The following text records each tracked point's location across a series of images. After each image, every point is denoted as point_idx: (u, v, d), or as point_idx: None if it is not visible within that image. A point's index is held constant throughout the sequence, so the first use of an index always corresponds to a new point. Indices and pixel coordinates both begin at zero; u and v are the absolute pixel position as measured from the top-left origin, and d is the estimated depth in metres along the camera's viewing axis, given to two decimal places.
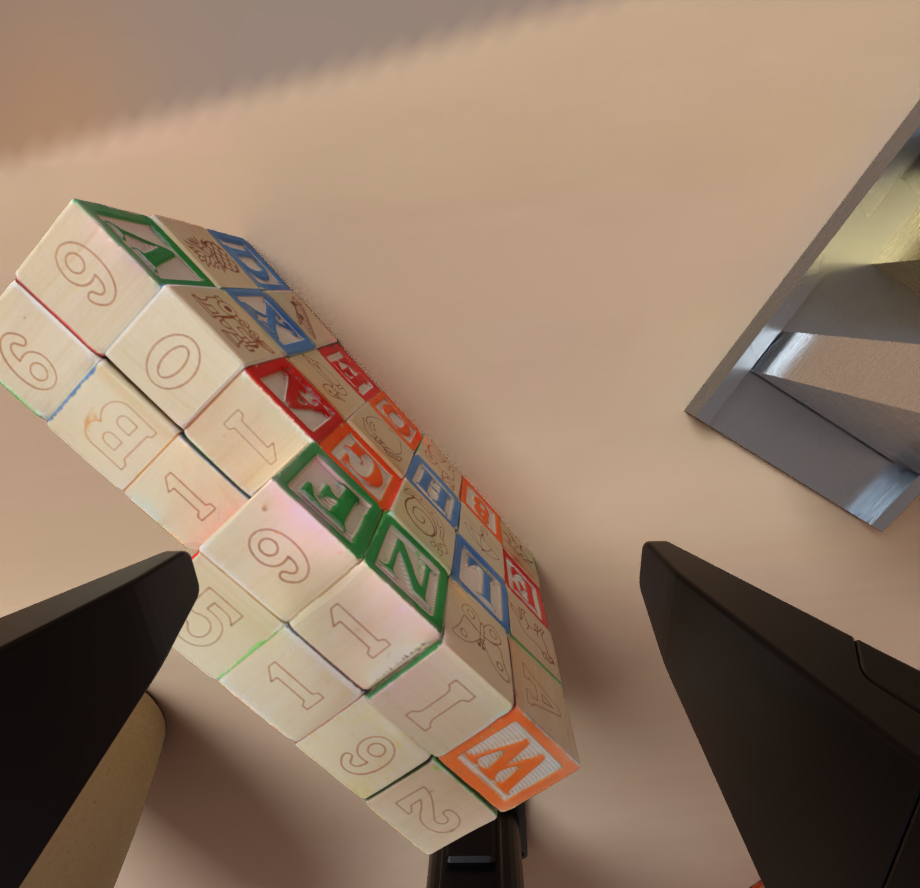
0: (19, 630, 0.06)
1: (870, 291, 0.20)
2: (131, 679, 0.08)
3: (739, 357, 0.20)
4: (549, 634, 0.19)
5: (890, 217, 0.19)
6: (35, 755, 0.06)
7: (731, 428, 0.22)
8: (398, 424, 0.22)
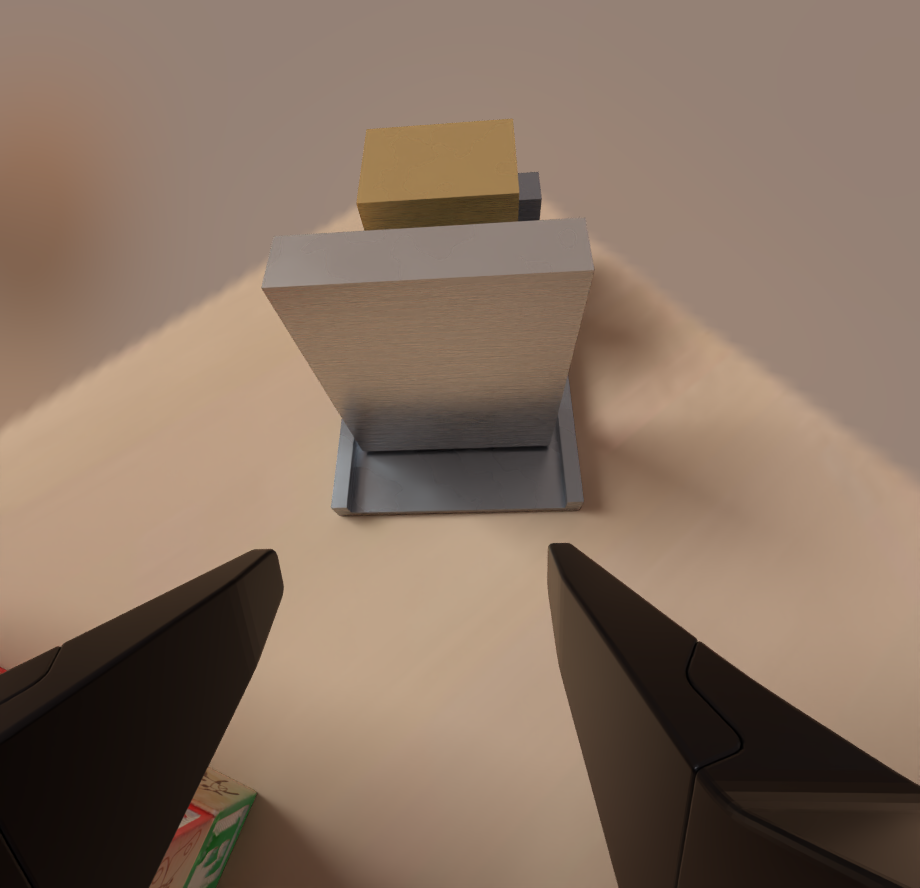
0: (143, 629, 0.06)
1: None
2: (234, 679, 0.08)
3: (339, 446, 0.22)
4: None
5: None
6: (161, 756, 0.06)
7: (384, 503, 0.21)
8: None
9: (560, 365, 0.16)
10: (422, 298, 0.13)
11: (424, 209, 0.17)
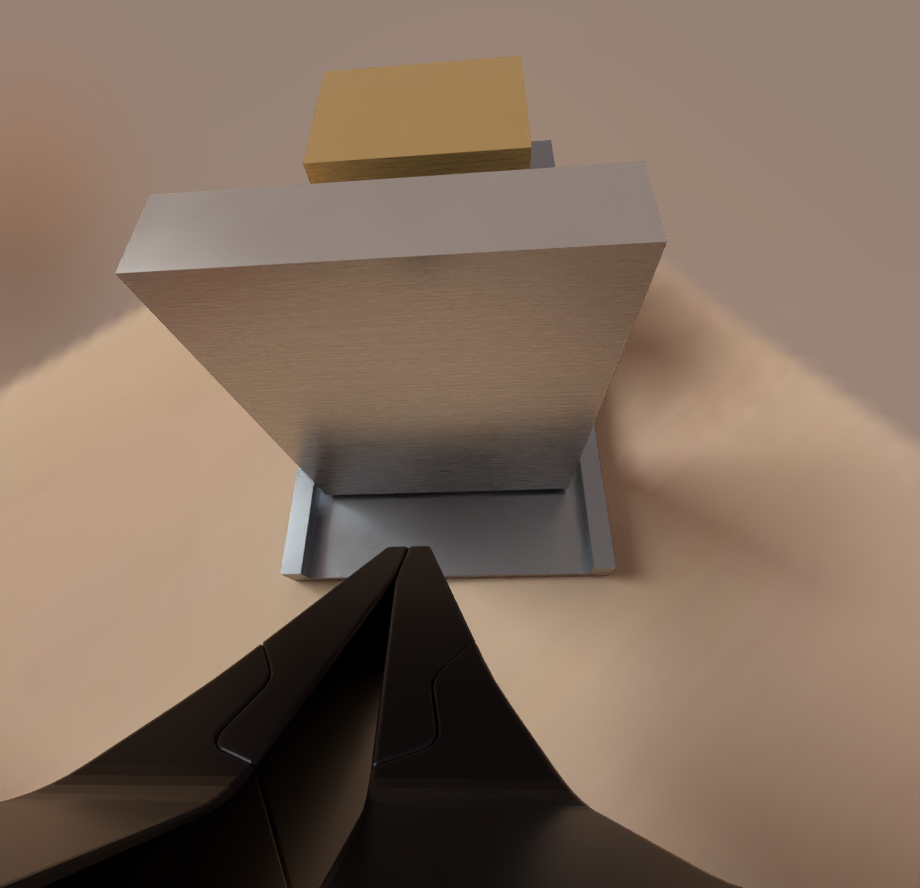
0: (337, 627, 0.06)
1: None
2: None
3: (295, 489, 0.17)
4: None
5: None
6: (358, 757, 0.06)
7: (352, 565, 0.16)
8: None
9: (592, 391, 0.11)
10: (382, 292, 0.08)
11: (399, 172, 0.12)
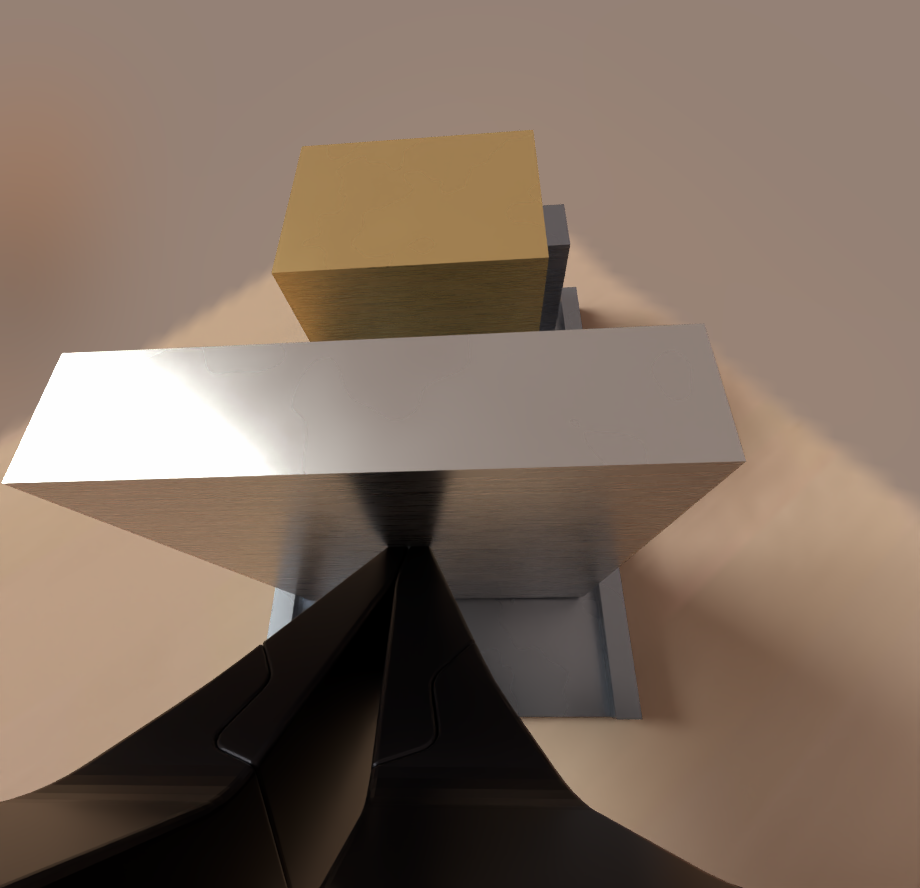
0: (337, 627, 0.06)
1: None
2: None
3: (273, 608, 0.15)
4: None
5: None
6: (357, 757, 0.06)
7: None
8: None
9: (622, 550, 0.09)
10: (358, 493, 0.06)
11: (388, 281, 0.10)
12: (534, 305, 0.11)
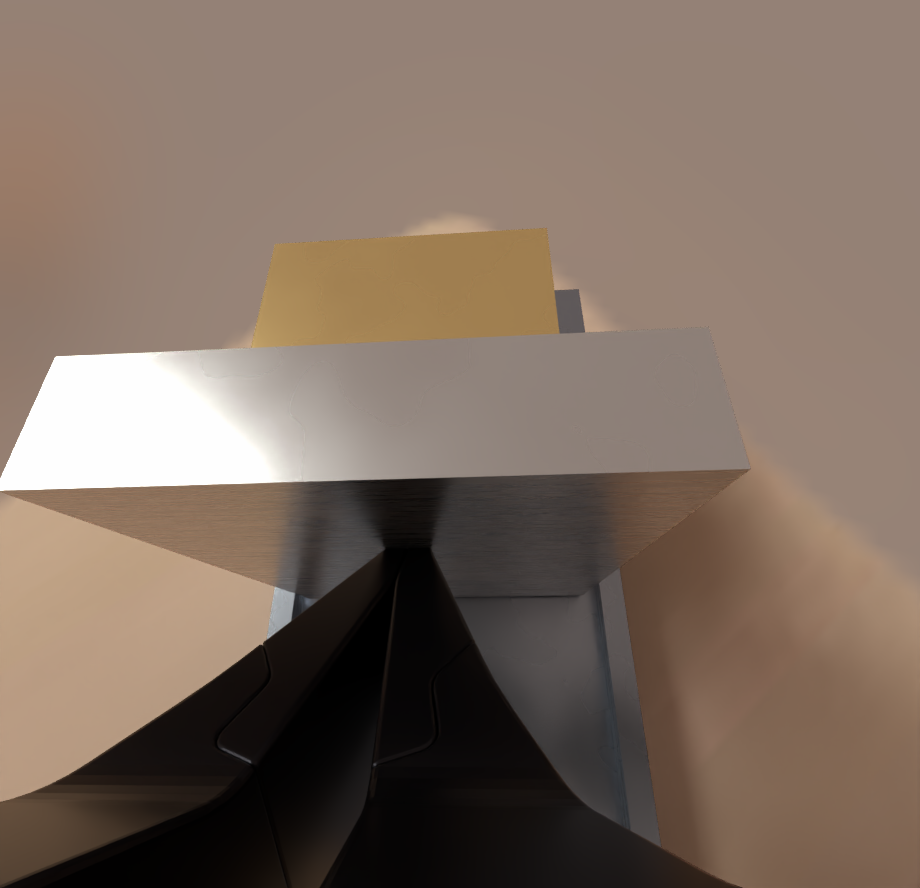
0: (337, 627, 0.06)
1: None
2: None
3: None
4: None
5: None
6: (358, 757, 0.06)
7: None
8: None
9: (623, 551, 0.09)
10: (358, 500, 0.06)
11: None
12: None
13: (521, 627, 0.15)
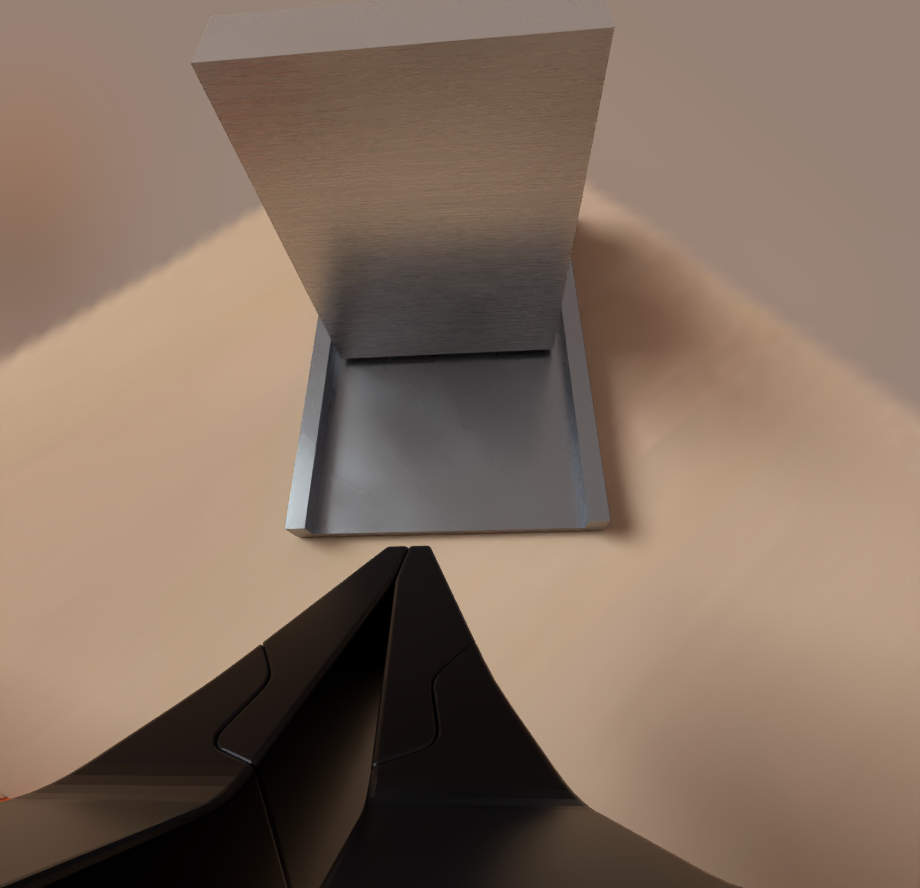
0: (337, 627, 0.06)
1: None
2: None
3: (298, 449, 0.18)
4: None
5: None
6: (357, 757, 0.06)
7: (354, 521, 0.17)
8: None
9: (567, 211, 0.13)
10: (395, 84, 0.10)
11: None
12: None
13: (505, 374, 0.19)
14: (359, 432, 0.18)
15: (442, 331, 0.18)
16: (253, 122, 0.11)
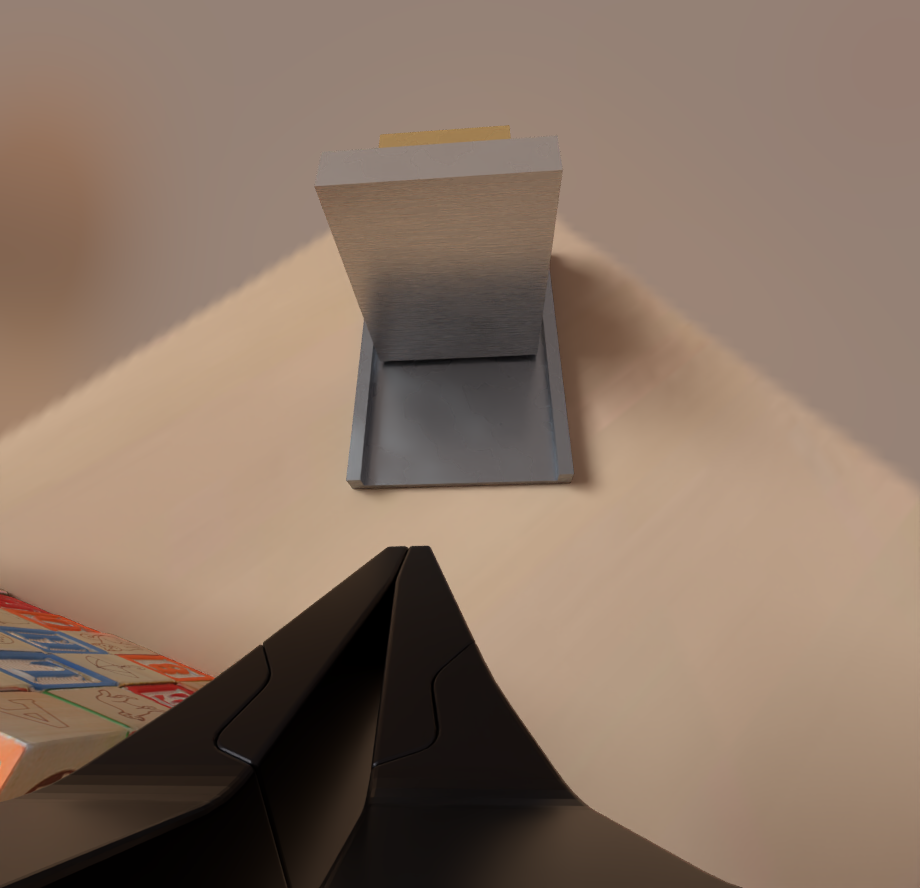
0: (337, 627, 0.06)
1: None
2: None
3: (352, 426, 0.24)
4: None
5: None
6: (357, 757, 0.06)
7: (394, 477, 0.24)
8: None
9: (541, 264, 0.20)
10: (434, 196, 0.17)
11: None
12: None
13: (502, 372, 0.26)
14: (395, 415, 0.25)
15: (456, 341, 0.25)
16: (345, 215, 0.18)
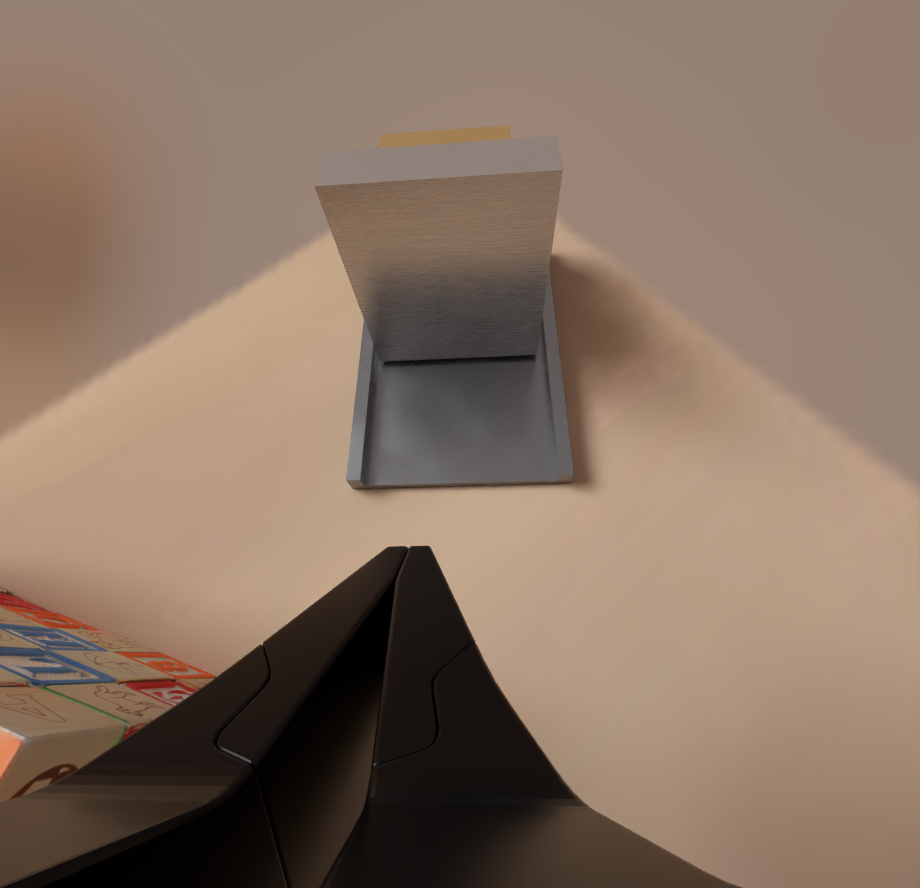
0: (337, 627, 0.06)
1: None
2: None
3: (352, 426, 0.24)
4: None
5: None
6: (357, 757, 0.06)
7: (394, 477, 0.24)
8: None
9: (541, 264, 0.20)
10: (434, 196, 0.17)
11: None
12: None
13: (502, 372, 0.26)
14: (395, 415, 0.25)
15: (456, 341, 0.25)
16: (345, 215, 0.18)
